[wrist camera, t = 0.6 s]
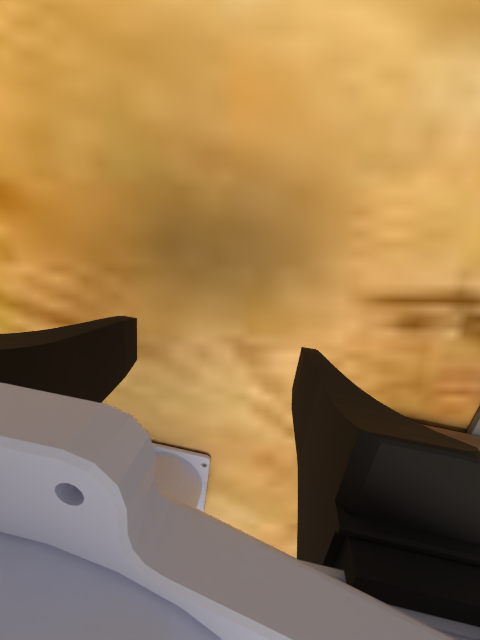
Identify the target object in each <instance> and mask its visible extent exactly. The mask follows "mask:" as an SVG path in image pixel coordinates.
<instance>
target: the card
mask: <svg viewBox="0 0 480 640" xmlns="http://www.w3.org/2000/svg"><path fill="white" fill-rule="evenodd" d="M466 434H471V435H476V436H480V408H479V410H478V411H477V413H476V415H475V417H474V419H473V420H472V422H471V424H470V426H469V428H468V430H467V431H466Z"/></svg>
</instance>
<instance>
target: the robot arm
mask: <svg viewBox="0 0 480 640" xmlns="http://www.w3.org/2000/svg"><path fill="white" fill-rule="evenodd" d="M136 360H137V318H133V317H127V316H116V317H109V318H104V319H99V320H94V321H89V322H85V323H80V324H75V325H69V326H64V327H59V328H53V329H47V330H40V331H32V332H23V333H10V334H0V640H480V451H479V449H478V448H477V447H475V446H473V445H470V444H467V443H465V442H462V441H460V440H457V439H455V438H452V437H449V436H447V435H444V434H442V433H439V432H437V431H435V430H432V429H430V428H428V427H426V426H424V425H421V424H419V423H417V422H415V421H413V420H411V419H409V418H407V417H405V416H403V415H401V414H399V413H398V412H396V411H394V410H392V409H391V408H389V407H387V406H385V405H384V404H382V403H380V402H379V401H377V400H376V399H374V398H373V397H371V396H370V395H368V394H367V393H366V392H364V391H363V390H361V389H360V388H359V387H357V386H356V385H355V384H354V383H352V382H351V381H350V380H349V379H348V378H346V377H345V376H344V375H343V374H342V373H341V372H340V371H339V370H338V369H337V368H336V367H334V366H333V365H332V364H331V363H330V362H329V361H328V360H327V359H326V358H325V357H324V356H323V355H322V354H321V353H320V352H319V351H318V350H316V349H310V348H304V347H302V348H301V353H300V357H299V362H298V366H297V370H296V375H295V379H294V383H293V388H292V416H293V425H294V433H295V442H296V451H297V462H298V533H297V559H296V558H294V557H292V556H290V555H288V554H286V553H284V552H282V551H280V550H278V549H276V548H274V547H272V546H270V545H268V544H266V543H264V542H262V541H260V540H258V539H256V538H254V537H252V536H250V535H248V534H246V533H245V532H243V531H241V530H239V529H237V528H235V527H233V526H231V525H229V524H227V523H225V522H223V521H221V520H219V519H217V518H215V517H213V516H211V515H209V514H207V513H205V512H204V507H205V499H206V491H207V484H208V476H209V468H210V461H211V459H210V457H209V456H208V455H205V454H201V453H196V452H192V451H187V450H183V449H179V448H174V447H170V446H165V445H161V444H156V443H152V441H151V438H150V435H149V433H148V432H147V431H146V430H145V429H144V428H143V427H142V426H141V425H140V424H139V423H138V421H137V420H136V419H135V418H134V417H133V416H132V415H130V414H128V413H126V412H124V411H121V410H119V409H117V408H114V407H112V406H110V405H107V404H103V403H102V401H103V400H104V399H105V398H106V397H107V396H108V395H109V394H110V393H111V392H112V391H113V390H114V389H115V388H116V387H117V385H118V384H119V383H120V382H121V381H122V380H123V379H124V378H125V377H126V375H127V374H128V372H129V371H130V370H131V368H132V367H133V365H134V363H135V362H136ZM204 463H205V464H204Z"/></svg>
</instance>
